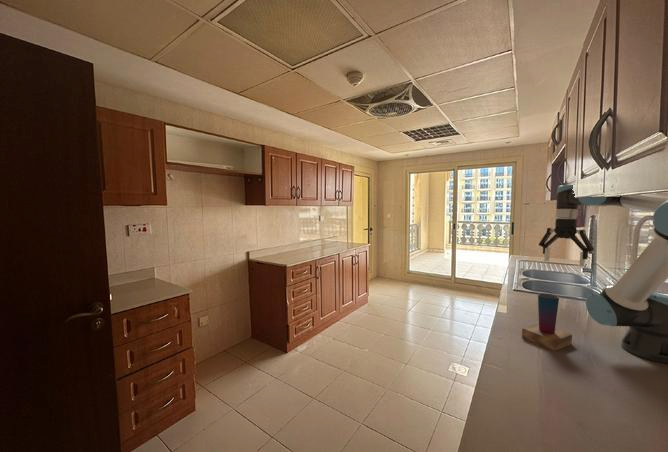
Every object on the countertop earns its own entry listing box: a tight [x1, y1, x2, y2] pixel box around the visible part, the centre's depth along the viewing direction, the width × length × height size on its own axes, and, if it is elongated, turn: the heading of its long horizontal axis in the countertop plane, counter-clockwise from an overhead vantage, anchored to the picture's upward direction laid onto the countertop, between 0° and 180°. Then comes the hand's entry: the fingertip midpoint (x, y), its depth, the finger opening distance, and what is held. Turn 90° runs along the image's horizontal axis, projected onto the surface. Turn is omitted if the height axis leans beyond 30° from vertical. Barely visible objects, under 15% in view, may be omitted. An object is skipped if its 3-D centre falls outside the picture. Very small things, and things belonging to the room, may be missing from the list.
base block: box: [521, 322, 573, 352], centre depth 111 cm, size 12×12×4 cm
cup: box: [537, 292, 560, 334], centre depth 110 cm, size 7×7×15 cm
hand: (563, 263), depth 126 cm, fingers open, 13 cm apart
